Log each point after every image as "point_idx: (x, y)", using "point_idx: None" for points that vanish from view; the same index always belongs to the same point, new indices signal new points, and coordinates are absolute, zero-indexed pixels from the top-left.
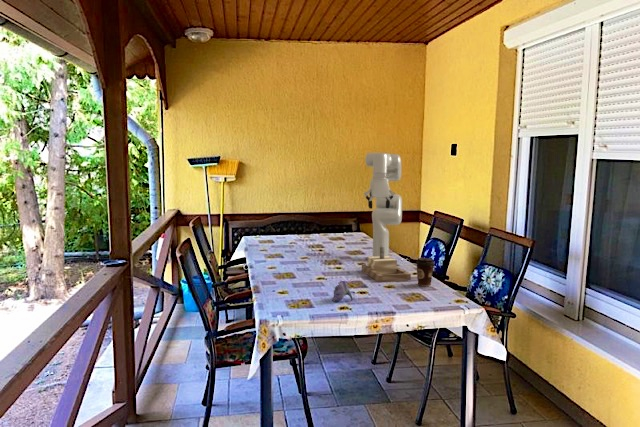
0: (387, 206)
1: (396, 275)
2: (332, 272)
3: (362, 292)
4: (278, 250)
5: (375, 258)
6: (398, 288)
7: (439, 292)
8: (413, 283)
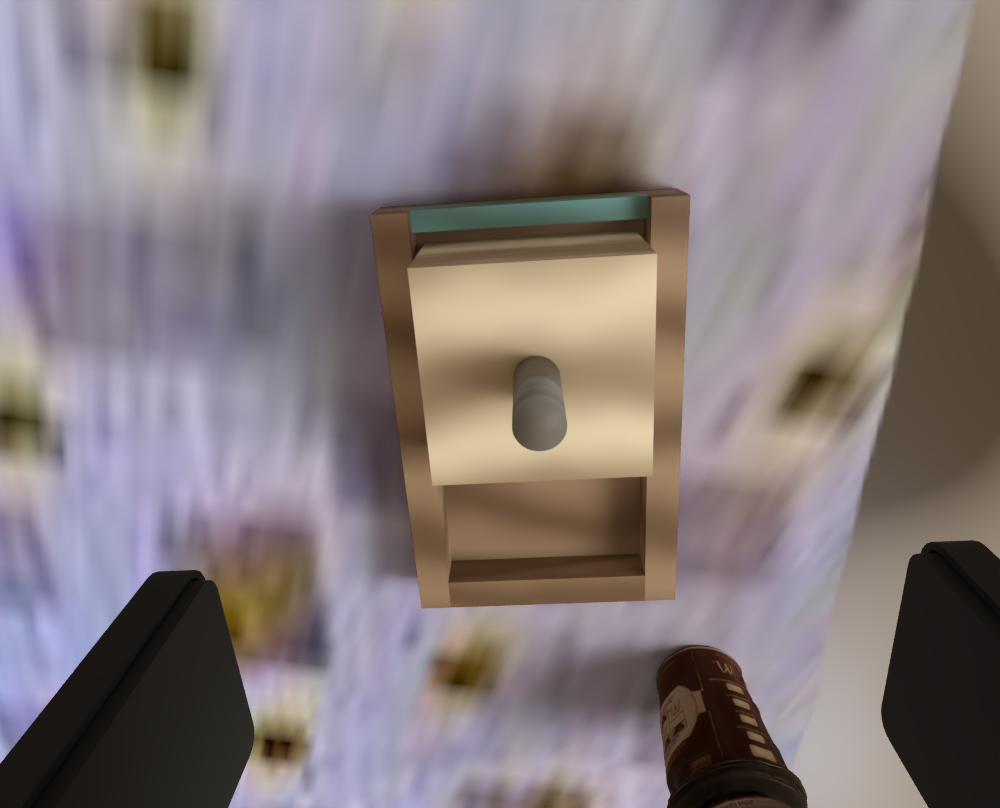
0: (916, 745)
1: (558, 599)
2: (105, 239)
3: (277, 744)
4: None
5: (469, 370)
6: (506, 710)
7: None
8: (649, 633)
